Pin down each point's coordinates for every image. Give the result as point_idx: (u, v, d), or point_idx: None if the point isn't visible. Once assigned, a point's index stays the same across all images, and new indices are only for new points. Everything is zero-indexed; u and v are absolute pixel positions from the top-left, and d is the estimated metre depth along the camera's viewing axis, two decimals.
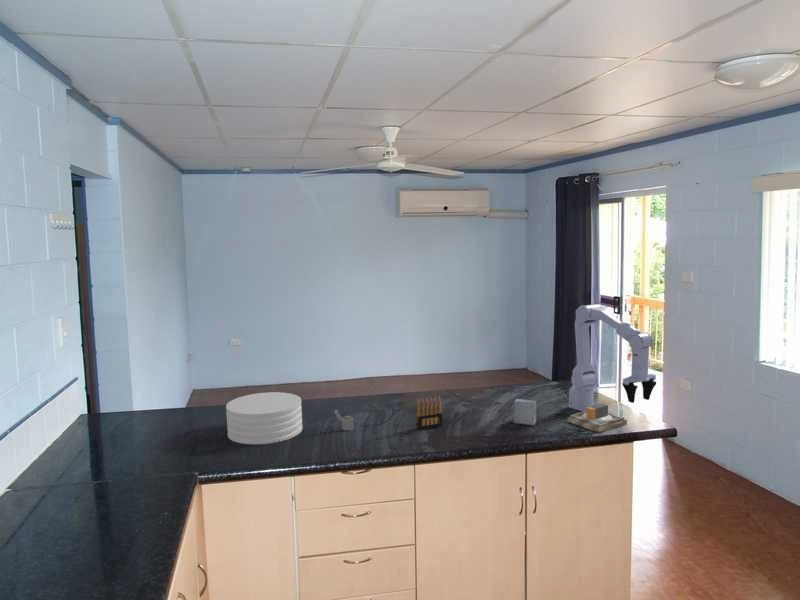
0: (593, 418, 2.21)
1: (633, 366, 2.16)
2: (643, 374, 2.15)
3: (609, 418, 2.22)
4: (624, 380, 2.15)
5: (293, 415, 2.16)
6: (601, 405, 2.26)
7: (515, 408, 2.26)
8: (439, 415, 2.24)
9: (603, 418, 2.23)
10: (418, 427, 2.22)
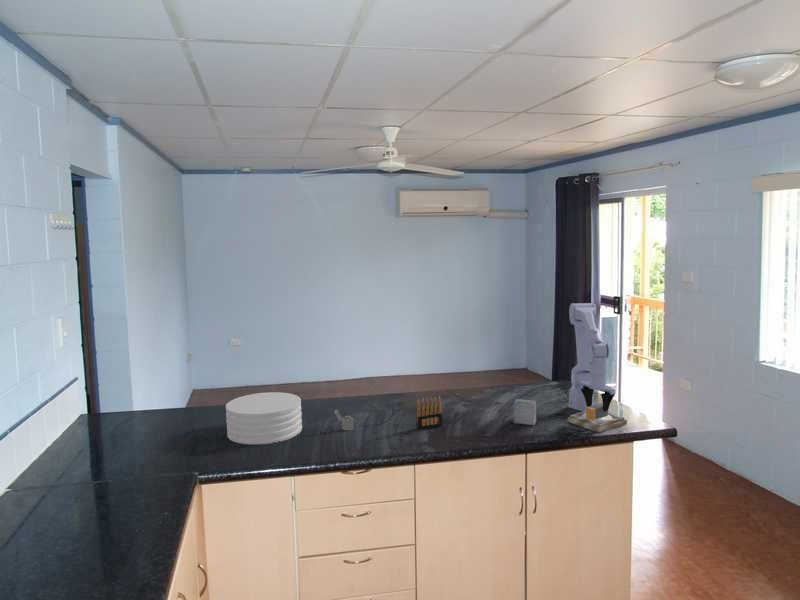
0: (593, 418, 2.21)
1: None
2: (591, 381, 2.22)
3: (609, 418, 2.22)
4: None
5: (293, 415, 2.16)
6: (601, 405, 2.26)
7: (515, 408, 2.26)
8: (439, 415, 2.24)
9: (603, 418, 2.23)
10: (418, 427, 2.22)
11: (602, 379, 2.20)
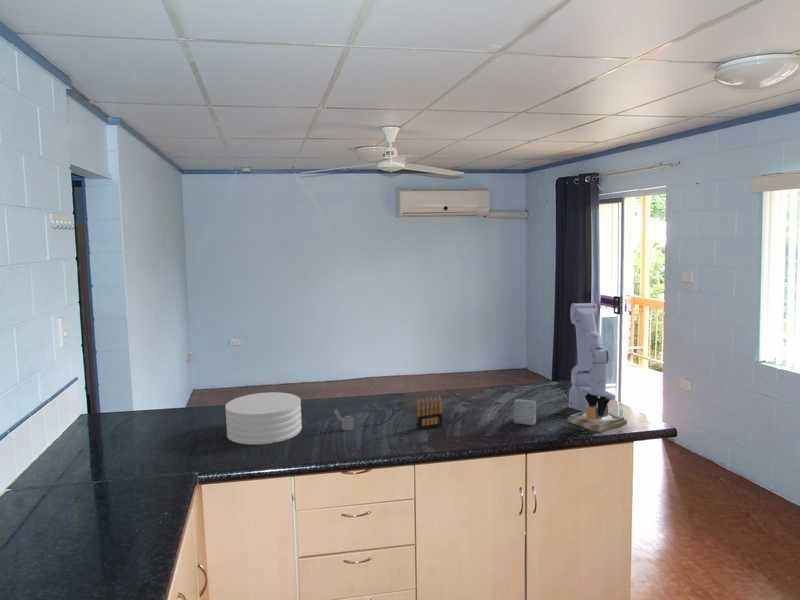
0: (593, 418, 2.21)
1: None
2: (591, 387, 2.23)
3: (609, 418, 2.22)
4: None
5: (292, 415, 2.16)
6: None
7: (515, 408, 2.26)
8: (439, 415, 2.24)
9: (603, 418, 2.23)
10: (418, 427, 2.22)
11: (602, 385, 2.21)
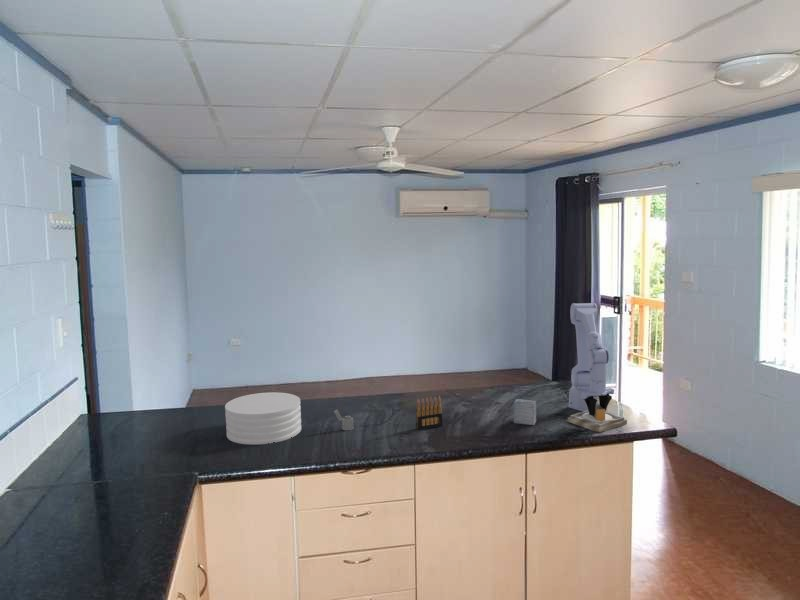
0: None
1: (591, 380, 2.22)
2: (600, 388, 2.21)
3: (606, 414, 2.27)
4: (582, 394, 2.21)
5: (292, 415, 2.16)
6: None
7: (515, 408, 2.26)
8: (439, 415, 2.24)
9: (604, 416, 2.25)
10: (418, 427, 2.22)
11: None
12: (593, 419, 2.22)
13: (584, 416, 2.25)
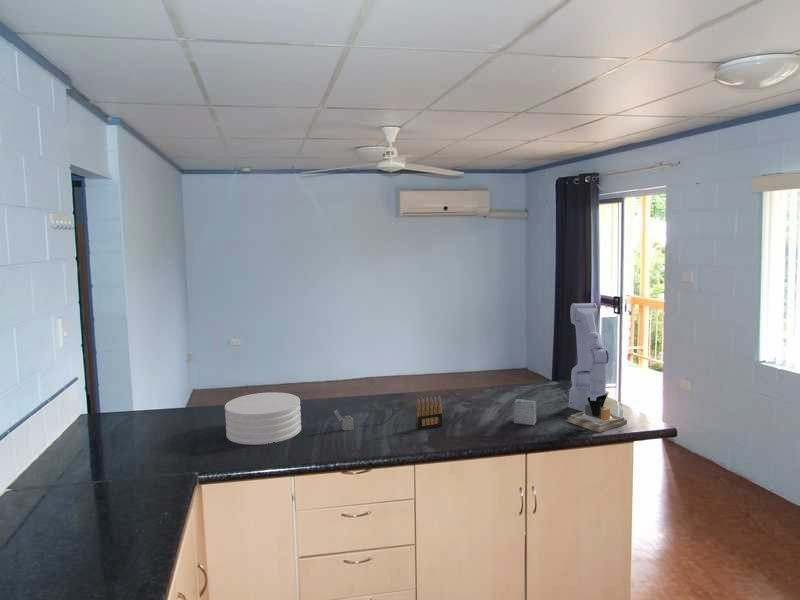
0: None
1: (594, 381, 2.21)
2: (604, 388, 2.21)
3: None
4: (592, 397, 2.18)
5: (292, 415, 2.16)
6: None
7: (515, 408, 2.26)
8: (439, 415, 2.24)
9: None
10: (418, 427, 2.22)
11: None
12: (600, 420, 2.21)
13: (588, 418, 2.23)
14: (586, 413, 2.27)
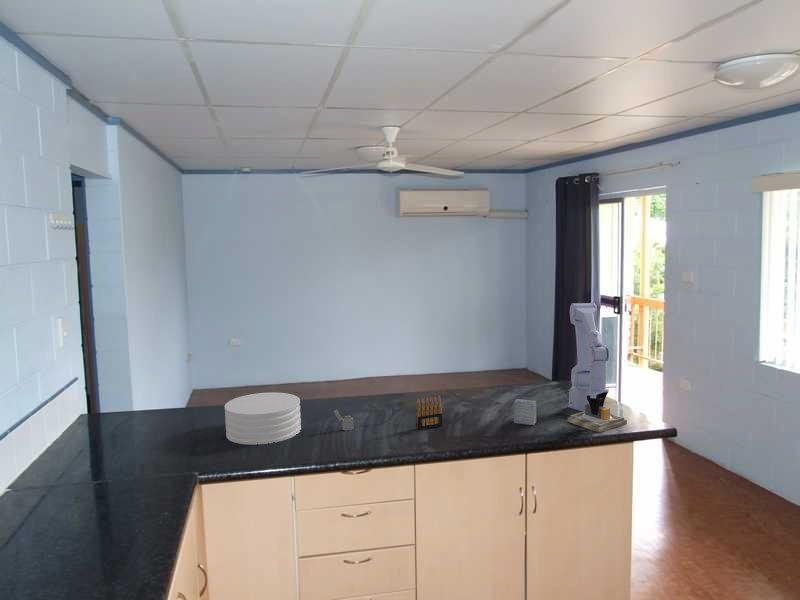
0: None
1: (594, 379, 2.21)
2: (604, 385, 2.21)
3: None
4: (592, 394, 2.18)
5: (292, 415, 2.16)
6: None
7: (515, 408, 2.26)
8: (439, 415, 2.24)
9: None
10: (418, 427, 2.22)
11: None
12: (600, 420, 2.21)
13: (588, 418, 2.22)
14: (586, 413, 2.27)
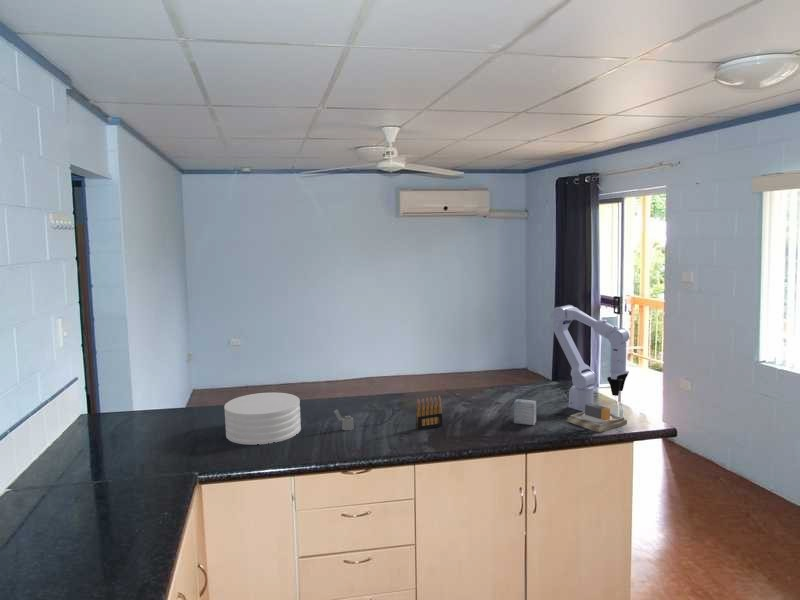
0: None
1: (615, 361, 2.27)
2: (624, 367, 2.28)
3: None
4: (613, 375, 2.24)
5: (291, 415, 2.16)
6: (592, 405, 2.26)
7: (515, 408, 2.26)
8: (439, 415, 2.24)
9: None
10: (418, 427, 2.22)
11: None
12: (600, 420, 2.21)
13: (588, 418, 2.22)
14: (586, 413, 2.27)
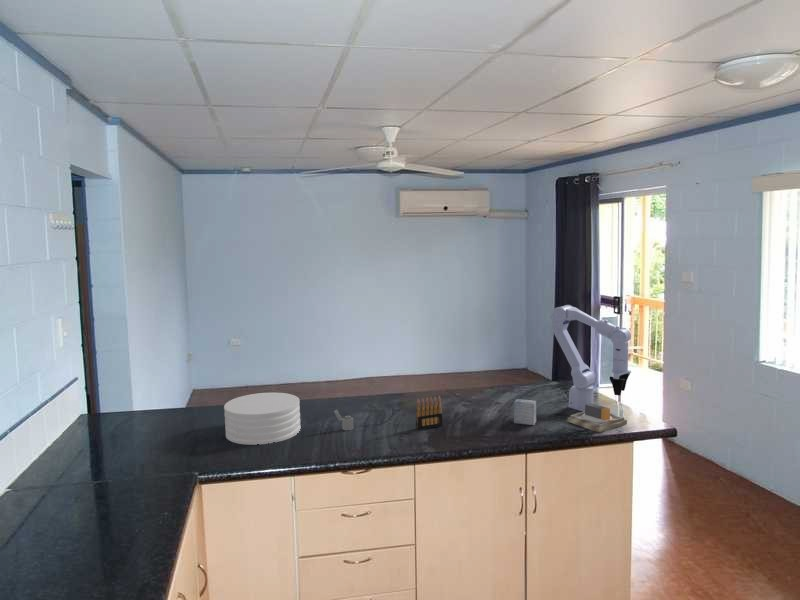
0: None
1: (617, 361, 2.28)
2: (626, 367, 2.29)
3: None
4: (615, 375, 2.25)
5: (291, 415, 2.16)
6: (592, 405, 2.26)
7: (515, 408, 2.26)
8: (439, 415, 2.24)
9: None
10: (418, 427, 2.22)
11: None
12: (600, 420, 2.21)
13: (588, 418, 2.22)
14: (586, 413, 2.27)
